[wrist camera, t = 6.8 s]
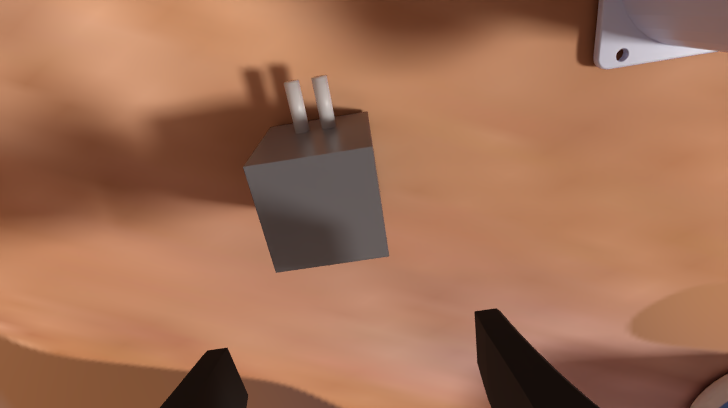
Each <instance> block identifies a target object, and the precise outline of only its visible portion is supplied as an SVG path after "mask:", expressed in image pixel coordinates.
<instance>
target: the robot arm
mask: <svg viewBox="0 0 728 408" xmlns="http://www.w3.org/2000/svg"><path fill="white" fill-rule="evenodd" d="M620 49H623V55H622V57H621V58H620V59H619V60H617V59H616V54H617V52H618V51H619V50H620ZM718 51H721V52H728V0H599V6H598V16H597V26H596V37H595V47H594V64H595V65H596V66H597V67H599V68H601V69H613V68H619V67H625V66H632V65H638V64H644V63H650V62H656V61H662V60H668V59H675V58H681V57H687V56H693V55H699V54H705V53H712V52H718ZM475 328H476V346H477V363H478V367H479V370H480V374H481V377H482V380H483V384H484V387H485V390H486V394H487V397H488V400H489V403H490V405H491V408H599V407H598V406H597V405H596V404H595V403H593V402H592V401H591V400H590V399H589V398H587V397H586V396H585V395H584V394H583V393H582V392H580V391H579V390H578V389H577V388H576V387H575V386H574V385H572V384H571V383H570V382H569V381H568V380H567V379H566V378H565V377H564V376H562V375H561V374H560V373H559V372H558V371H557V370H556V369H555V368H554V367H553V366H552V365H551V364H550V363H549V362H548V361H547V360H546V359H545V358H544V357H543V356H542V355H540V354H539V353H538V352H537V351H536V350H535V349H534V348H533V347H532V346H531V344H530V343H529V342H528V341H527V340H526V339H525V338H524V337H523V336H522V335H521V334H520V333H519V332H518V331H517V330H516V329H515V327H514V326H513V325H512V324H511V323H510V322H509V321H508V320H507V318H506V317H505V316H504V315H503V314H502V313H501V311H499V310H498V309H489V310H482V311H475ZM247 400H248V394H247V391H246V389H245V387H244V385H243V382H242V380H241V378H240V375H239V373H238V371H237V369H236V366H235V364H234V362H233V359H232V357H231V355H230V353H229V350H228V348H222V349H215V350H208V351H207V352H206V353H205V354H204V355H203V356H202V357H201V359H200V360H199V361H198V362H197V363H196V365H195V366H194V367H193V368H192V369H191V371H190V372H189V373H188V374H187V376H186V377H185V378H184V379H183V380H182V382H181V383H180V384H179V386H178V387H177V388H176V389H175V390H174V391H173V393H172V394H171V395H170V396H169V397H168V399H167V400H166V401H165V402H164V403H163V404H162V406H161V407H160V408H246V406H247Z"/></svg>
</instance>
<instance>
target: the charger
mask: <svg viewBox="0 0 728 408" xmlns="http://www.w3.org/2000/svg"><path fill="white" fill-rule="evenodd" d="M311 79H312V84H313V89H314V93H315V98H316V103H317V108H318V113H319V118H320V119H318V120H311V121H308V119H307V115H306V110H305V106H304V101H303V97H302V92H301V88H300V83H299V80H291V81H287V82H284V87H285V91H286V95H287V99H288V104H289V108H290V112H291V116H292V120H293V124H287V125H281V126H274V127H270V129H269V130H268V132H267V133H266V135H265V136H264V137H263V139H262V140H261V142H260V143H259V145H258V146H257V148H256V149H255V150H254V152H253V153H252V155H251V156H250V158H249V159H248V160H247V162H246V163H245V165H244V166H243V169H244V172H245V175H246V178H247V181H248V185H249V188H250V191H251V194H252V197H253V201H254V204H255V207H256V210H257V213H258V217H259V220H260V223H261V226H262V229H263V233H264V236H265V239H266V242H267V245H268V249H269V252H270V255H271V258H272V261H273V265H274V268H275V271H276V273H277V272H284V271H291V270H298V269H305V268H312V267H319V266H326V265H333V264H340V263H346V262H353V261H360V260H367V259H374V258H381V257H388V256H389V252H388V245H387V238H386V231H385V224H384V217H383V211H382V204H381V197H380V190H379V184H378V177H377V171H376V164H375V158H374V151H373V145H372V138H371V131H370V125H369V118H368V112H361V113H355V114H348V115H342V116H336V117H334V112H333V107H332V101H331V96H330V91H329V86H328V80H327V75H321V76H316V77H313V78H311Z"/></svg>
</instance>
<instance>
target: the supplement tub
mask: <svg viewBox="0 0 728 408" xmlns="http://www.w3.org/2000/svg"><path fill="white" fill-rule="evenodd" d="M690 408H728V374H726V375H724V376H723V377H721V378H719V379H718V380H716V381H715V382H713V383H712V384H711V385H710V386H708V387H707V388H706V389H705V390H704V391H703V392H702V393H701V394H700V395H699V396H698V397H697V398H696V399H695V401H694V402H693V403H692V405H691V407H690Z"/></svg>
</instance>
